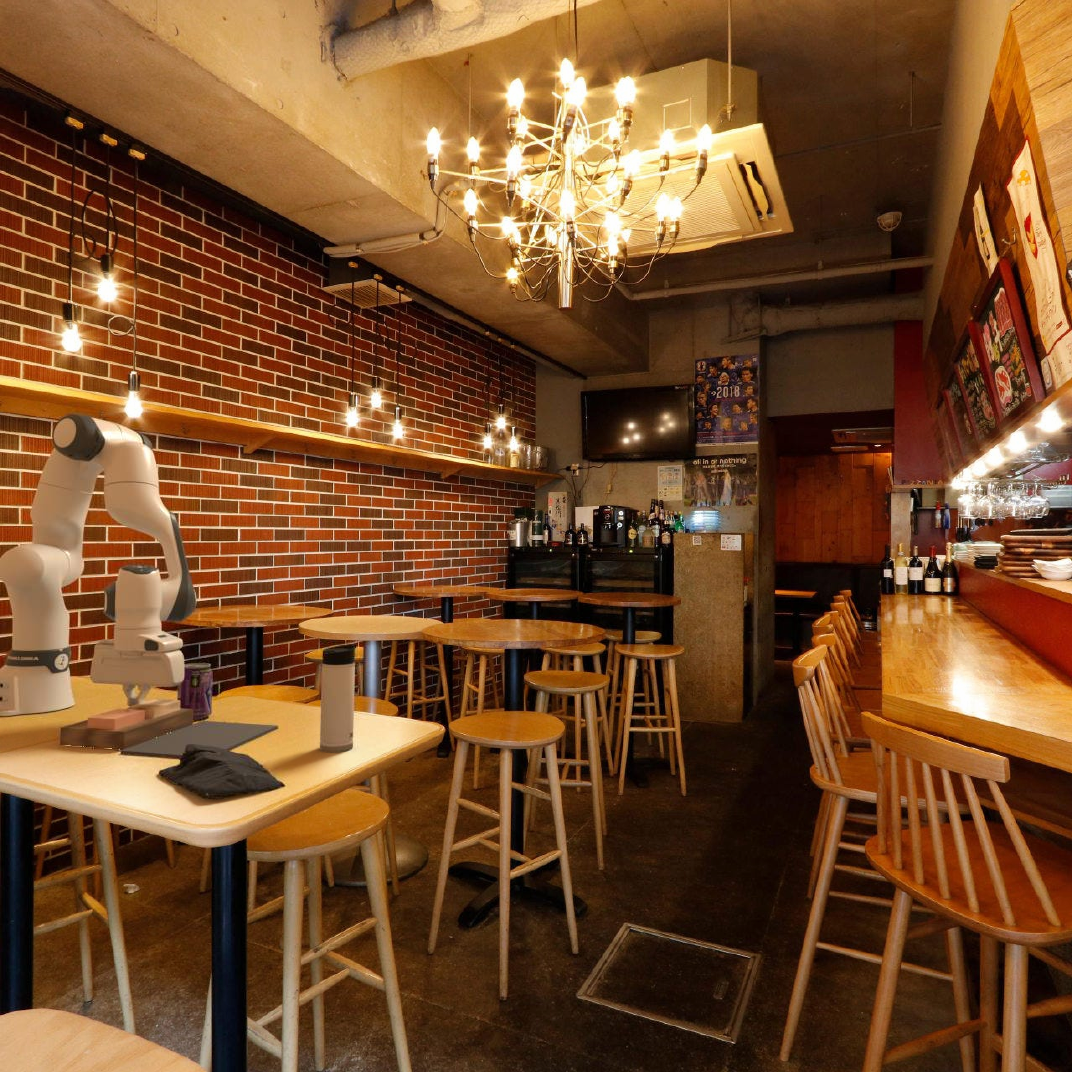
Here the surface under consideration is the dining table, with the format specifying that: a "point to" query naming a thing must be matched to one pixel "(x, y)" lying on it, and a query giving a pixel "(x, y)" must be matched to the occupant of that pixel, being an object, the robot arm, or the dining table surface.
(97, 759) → the dining table surface
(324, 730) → the travel mug
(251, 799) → the dining table surface
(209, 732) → the mat
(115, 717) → the tilted orange prism
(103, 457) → the robot arm
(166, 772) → the crumpled black cloth
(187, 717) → the walnut board
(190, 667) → the beverage can
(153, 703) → the tan rectangular block
